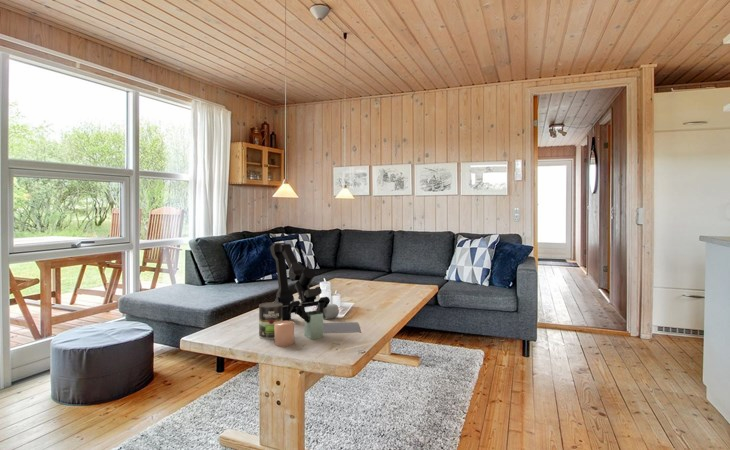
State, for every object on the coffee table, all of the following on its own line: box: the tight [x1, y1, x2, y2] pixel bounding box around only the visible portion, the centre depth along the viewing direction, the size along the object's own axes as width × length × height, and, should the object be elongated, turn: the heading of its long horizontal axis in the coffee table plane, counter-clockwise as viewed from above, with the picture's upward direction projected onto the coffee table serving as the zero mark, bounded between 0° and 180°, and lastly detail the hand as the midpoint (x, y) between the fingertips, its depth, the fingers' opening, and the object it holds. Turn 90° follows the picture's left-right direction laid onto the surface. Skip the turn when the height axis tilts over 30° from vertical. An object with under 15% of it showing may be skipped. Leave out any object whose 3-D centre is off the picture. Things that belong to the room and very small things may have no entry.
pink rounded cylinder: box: [274, 320, 295, 348], centre depth 169 cm, size 8×8×9 cm
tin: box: [304, 309, 324, 340], centre depth 178 cm, size 6×6×11 cm
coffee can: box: [258, 301, 283, 339], centre depth 180 cm, size 10×10×14 cm
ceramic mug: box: [323, 303, 340, 321], centre depth 210 cm, size 11×8×8 cm
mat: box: [323, 321, 361, 334], centre depth 191 cm, size 18×16×1 cm
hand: (315, 321), depth 177 cm, fingers open, 6 cm apart
